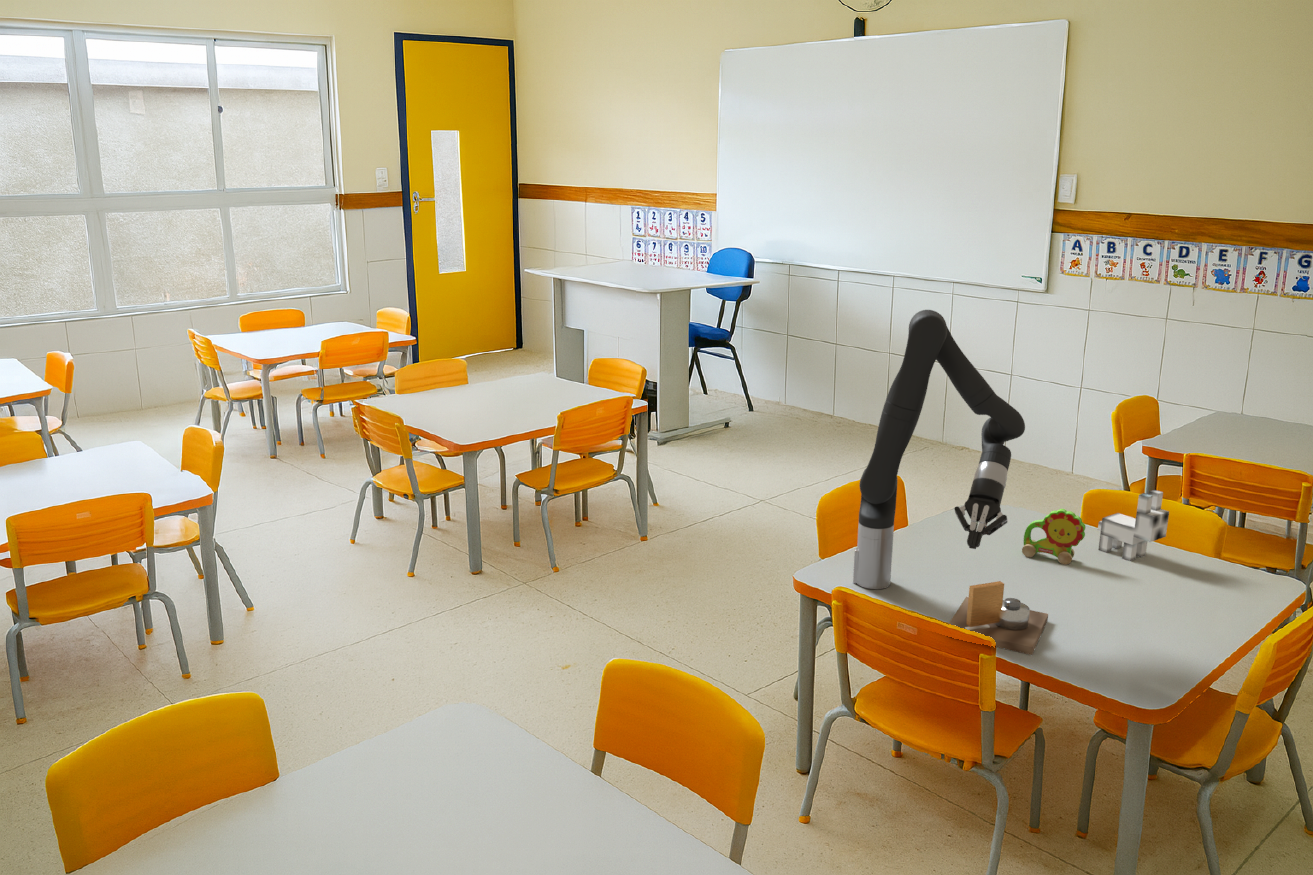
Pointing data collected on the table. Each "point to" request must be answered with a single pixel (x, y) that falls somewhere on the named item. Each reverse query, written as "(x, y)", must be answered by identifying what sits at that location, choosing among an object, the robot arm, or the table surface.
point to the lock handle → (995, 607)
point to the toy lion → (1056, 535)
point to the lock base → (1006, 630)
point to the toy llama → (1135, 527)
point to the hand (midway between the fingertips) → (972, 547)
